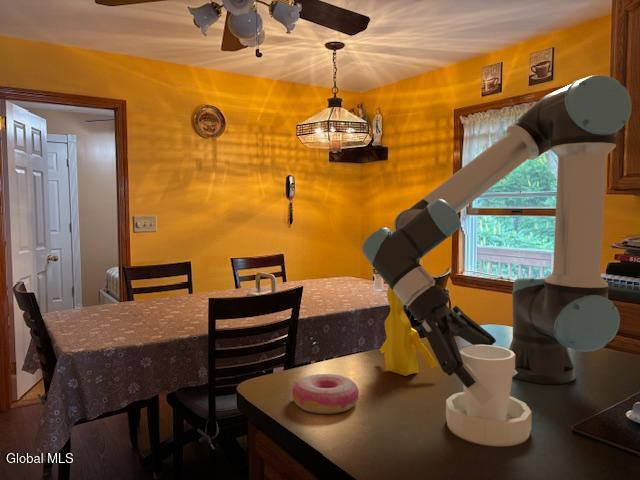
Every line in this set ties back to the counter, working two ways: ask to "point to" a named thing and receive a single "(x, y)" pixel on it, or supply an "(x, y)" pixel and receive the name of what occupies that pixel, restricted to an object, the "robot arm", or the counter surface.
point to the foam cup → (489, 379)
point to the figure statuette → (402, 341)
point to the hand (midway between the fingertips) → (500, 388)
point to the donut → (325, 393)
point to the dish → (489, 423)
